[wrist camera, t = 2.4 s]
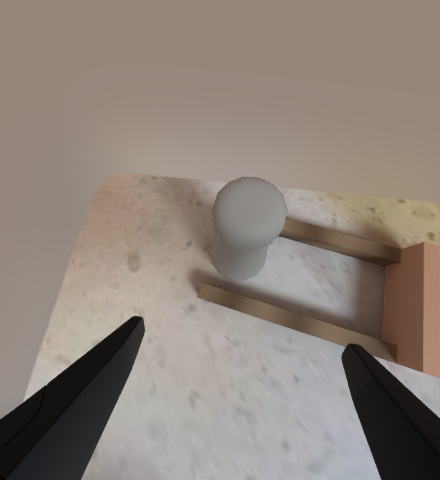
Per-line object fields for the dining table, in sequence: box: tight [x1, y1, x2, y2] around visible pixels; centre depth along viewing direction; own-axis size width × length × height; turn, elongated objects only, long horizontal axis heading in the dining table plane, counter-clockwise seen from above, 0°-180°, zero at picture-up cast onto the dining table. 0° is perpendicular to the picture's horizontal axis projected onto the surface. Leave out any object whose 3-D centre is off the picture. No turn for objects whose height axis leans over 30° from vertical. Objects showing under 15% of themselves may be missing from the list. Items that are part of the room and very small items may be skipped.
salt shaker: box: [210, 177, 288, 280], centre depth 17 cm, size 6×6×13 cm
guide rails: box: [197, 218, 401, 363], centre depth 21 cm, size 19×11×2 cm, turn 73°
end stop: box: [381, 242, 440, 378], centre depth 19 cm, size 3×11×4 cm, turn 162°
